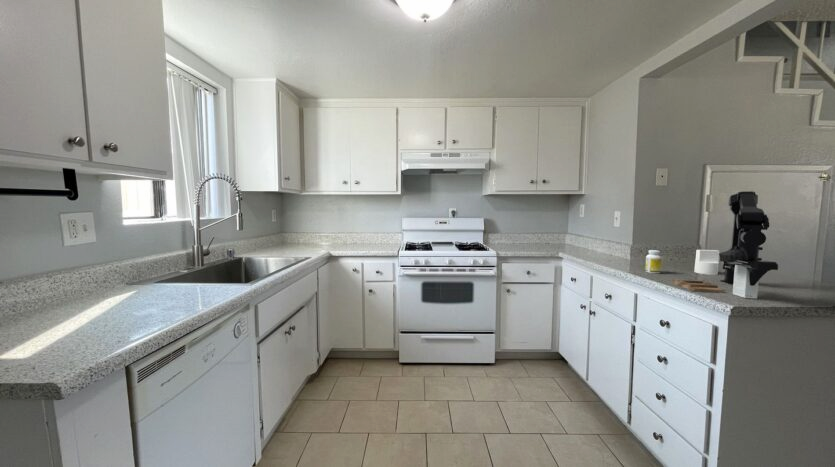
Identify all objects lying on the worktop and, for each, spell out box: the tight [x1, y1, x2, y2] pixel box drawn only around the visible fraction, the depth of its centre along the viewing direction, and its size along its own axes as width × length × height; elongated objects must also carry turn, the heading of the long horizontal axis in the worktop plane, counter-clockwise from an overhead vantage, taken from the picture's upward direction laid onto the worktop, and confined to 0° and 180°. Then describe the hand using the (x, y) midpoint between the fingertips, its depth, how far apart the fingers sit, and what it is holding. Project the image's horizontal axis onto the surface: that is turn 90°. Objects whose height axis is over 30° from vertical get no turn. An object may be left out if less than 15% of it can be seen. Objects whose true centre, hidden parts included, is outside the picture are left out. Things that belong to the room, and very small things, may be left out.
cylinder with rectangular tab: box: [693, 249, 720, 276], centre depth 162 cm, size 9×9×12 cm
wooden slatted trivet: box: [672, 279, 725, 294], centre depth 134 cm, size 14×11×2 cm
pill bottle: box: [645, 249, 662, 274], centre depth 163 cm, size 6×6×12 cm
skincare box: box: [732, 265, 759, 299], centre depth 121 cm, size 6×4×12 cm
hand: (745, 283), depth 121 cm, fingers closed on skincare box, 6 cm apart
